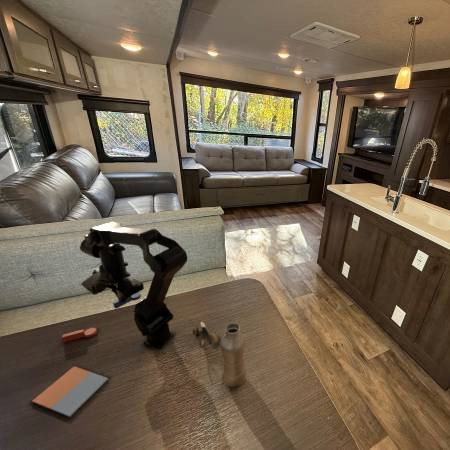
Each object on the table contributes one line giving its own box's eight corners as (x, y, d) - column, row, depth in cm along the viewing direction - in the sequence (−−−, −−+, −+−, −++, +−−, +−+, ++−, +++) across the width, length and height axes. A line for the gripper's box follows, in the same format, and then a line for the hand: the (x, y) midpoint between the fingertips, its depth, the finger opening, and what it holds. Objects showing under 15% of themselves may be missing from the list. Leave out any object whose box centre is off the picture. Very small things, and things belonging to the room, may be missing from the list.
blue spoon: (117, 310, 81) (116, 304, 80) (112, 306, 82) (111, 301, 82) (142, 296, 88) (141, 291, 87) (137, 293, 89) (136, 288, 88)
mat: (108, 379, 69) (108, 378, 69) (69, 417, 60) (69, 416, 60) (74, 367, 71) (74, 366, 71) (32, 402, 62) (31, 400, 62)
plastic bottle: (240, 392, 69) (239, 340, 61) (217, 386, 70) (214, 334, 62) (249, 371, 75) (249, 321, 67) (228, 366, 76) (226, 316, 68)
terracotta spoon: (63, 344, 77) (61, 339, 76) (65, 337, 80) (63, 332, 79) (96, 335, 81) (94, 330, 81) (97, 328, 84) (95, 323, 83)
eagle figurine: (185, 347, 79) (209, 351, 77) (188, 323, 81) (212, 327, 78) (200, 341, 86) (223, 345, 84) (203, 320, 88) (225, 323, 85)
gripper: (66, 262, 75) (80, 303, 81) (99, 285, 67) (111, 328, 73) (107, 248, 84) (117, 286, 90) (140, 266, 76) (148, 306, 82)
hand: (122, 300), depth 83 cm, fingers closed on blue spoon, 1 cm apart
